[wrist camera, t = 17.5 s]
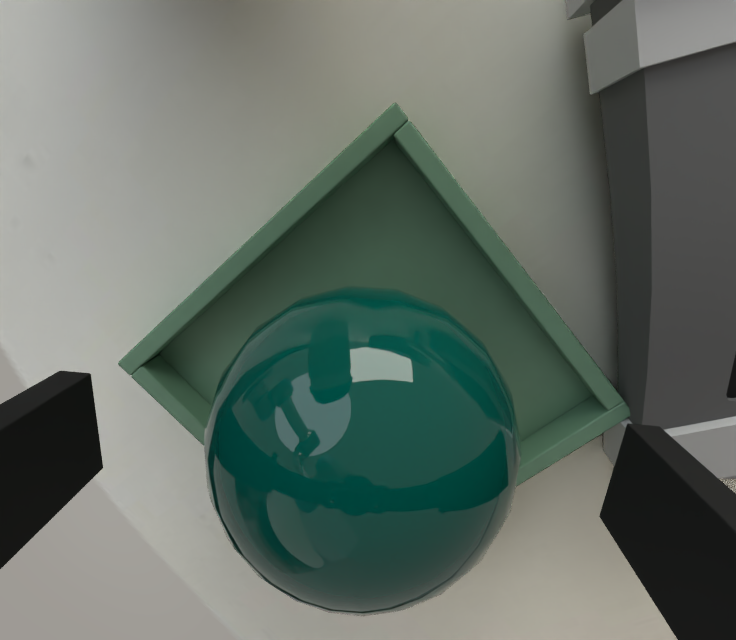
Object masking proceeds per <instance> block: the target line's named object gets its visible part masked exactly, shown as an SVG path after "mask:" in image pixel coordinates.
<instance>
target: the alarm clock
mask: <svg viewBox="0 0 736 640" xmlns="http://www.w3.org/2000/svg"><path fill="white" fill-rule="evenodd" d="M565 3H566V12H567V20H569V19H573V18H576V17H579V16H583V15H586V14H589V13H591V20H592V27H591V28H590V29H589V30H588V31H587V32H586V33H584V34H583V35H584V44H585V53H586V62H587V71H588V80H589V89H590V95H591V94H595V93H599V95H600V104H601V113H602V122H603V132H604V141H605V150H606V160H607V169H608V179H609V188H610V199H611V212H612V226H613V239H614V252H615V265H616V283H617V317H618V393H619V395H620V396H621V397H622V398H623V400H624V401H625V402H626V404H627V405H628V406H629V409H630V417H628V418H627V419H625V420H623V421H622V422H620V423H618V424H617V425H615V426H614V427H612V428H610V429H609V430H607V431H605V432H604V433H603V450H604V452H605V453H606V455H607V457H608V458H609V460H610V461H611V463H612V464H613V466H615V463H616V459H617V456H618V453H619V449H620V446H621V443H622V439H623V436H624V433H625V429H626V426H627V423H630V424H640V425H651V426H660V427H661V428H662V429H663V430H664V431H665V432H667V433H668V434H669V435H670V436H671V437H672V438H673V439H674V440H676V441H677V442H678V443H679V444H680V445H681V446H682V447H683V448H685V449H686V450H687V451H688V452H689V453H690V454H691V455H692V456H693V457H695V458H696V459H697V460H698V461H699V462H700V463H701V464H702V465H704V466H705V467H706V468H707V469H708V470H709V471H710V472H711V473H713V474H714V475H715V476H716V477H717V478H718V479H720V478H724V479H736V0H565Z"/></svg>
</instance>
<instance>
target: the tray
mask: <svg viewBox="0 0 736 640" xmlns="http://www.w3.org/2000/svg"><path fill="white" fill-rule="evenodd" d="M345 286H360V287H375V288H390V289H398V290H401V291H403V292H406V293H408V294H411V295H414V296H416V297H419V298H421V299H424V300H426V301H429V302H431V303H434V304H436V305H439V306H442V307H443V308H444V309H445V310H446V311H448V312H449V313H450V314H451V315H452V316H454V317H455V318H456V319H457V320H458V321H460V322H461V323H462V324H463V325H465V326H466V327H467V328H468V329H469V330H471V331H472V332H473V333H474V334H475V335H477V336H478V337H479V339H480V340H481V341H482V342H483V343H484V345H485V346H486V348H487V350H488V351H489V353H490V355H491V356H492V358H493V360H494V361H495V363H496V365H497V366H498V368H499V369H500V371H501V373H502V374H503V376H504V378H505V379H506V381H507V383H508V385H509V388H510V390H511V393H512V396H513V402H514V407H515V412H516V417H517V423H518V428H519V433H520V439H521V453H522V455H521V460H520V465H519V471H518V476H517V482H516V486H518V485H519V484H521V483H523V482H524V481H526V480H527V479H529V478H531V477H532V476H534V475H536V474H537V473H539V472H540V471H542V470H544V469H545V468H547V467H549V466H550V465H552V464H553V463H555V462H557V461H558V460H560V459H562V458H563V457H565V456H566V455H568V454H570V453H571V452H573V451H575V450H576V449H578V448H579V447H581V446H583V445H584V444H586V443H588V442H589V441H591V440H592V439H594V438H596V437H597V436H599V435H601V434H602V433H604V432H605V431H607V430H609V429H610V428H612V427H614V426H615V425H617V424H618V423H620V422H622V421H623V420H625V419H627V418H628V417H630V409H629V406H628V405H627V404H626V402H625V401H624V400H623V398H622V397H621V396H620V395H619V393H618V392H617V391H616V389H615V388H614V387H613V385H612V384H611V383H610V381H609V380H608V379H607V378H606V376H605V375H604V374H603V372H602V371H601V370H600V368H599V367H598V366H597V364H596V363H595V362H594V361H593V359H592V358H591V357H590V355H589V354H588V353H587V351H586V350H585V349H584V347H583V346H582V345H581V344H580V342H579V341H578V340H577V338H576V337H575V336H574V334H573V333H572V332H571V330H570V329H569V328H568V327H567V325H566V324H565V323H564V321H563V320H562V319H561V317H560V316H559V315H558V313H557V312H556V311H555V310H554V308H553V307H552V306H551V304H550V303H549V302H548V300H547V299H546V298H545V296H544V295H543V294H542V293H541V291H540V290H539V289H538V287H537V286H536V285H535V283H534V282H533V281H532V279H531V278H530V277H529V276H528V274H527V273H526V272H525V270H524V269H523V268H522V266H521V265H520V264H519V262H518V261H517V260H516V259H515V257H514V256H513V255H512V253H511V252H510V251H509V249H508V248H507V247H506V245H505V244H504V243H503V242H502V240H501V239H500V238H499V236H498V235H497V234H496V232H495V231H494V230H493V228H492V227H491V226H490V225H489V223H488V222H487V221H486V219H485V218H484V217H483V215H482V214H481V213H480V211H479V210H478V209H477V208H476V206H475V205H474V204H473V202H472V201H471V200H470V198H469V197H468V196H467V194H466V193H465V192H464V191H463V189H462V188H461V187H460V185H459V184H458V183H457V181H456V180H455V179H454V177H453V176H452V175H451V174H450V172H449V171H448V170H447V168H446V167H445V166H444V164H443V163H442V162H441V160H440V159H439V158H438V157H437V155H436V154H435V153H434V151H433V150H432V149H431V147H430V146H429V145H428V143H427V142H426V141H425V140H424V138H423V137H422V136H421V134H420V133H419V132H418V130H417V129H416V128H415V126H414V125H413V124H412V123H411V122H410V121H408V117H407V116H406V115H405V113H404V112H403V111H402V109H401V108H400V107H399V106H398V104H397V103H393V104H392V105H391V106H390V107H389V108H388V109H387V110H386V111H385V112H384V113H383V114H382V115H380V116H379V117H378V118H377V119H376V120H375V121H374V122H373V123H372V124H371V125H370V126H369V127H368V128H367V129H366V130H365V131H363V132H362V133H361V134H360V135H359V136H358V137H357V138H356V139H355V140H354V141H353V142H352V143H351V144H350V145H349V146H348V147H347V148H345V149H344V150H343V151H342V152H341V153H340V154H339V155H338V156H337V157H336V158H335V159H334V160H333V161H332V162H331V163H330V164H328V165H327V166H326V167H325V168H324V169H323V170H322V171H321V172H320V173H319V174H318V175H317V176H316V177H315V178H314V179H313V180H311V181H310V182H309V183H308V184H307V185H306V186H305V187H304V188H303V189H302V190H301V191H300V192H299V193H298V194H297V195H296V196H294V197H293V198H292V199H291V200H290V201H289V202H288V203H287V204H286V205H285V206H284V207H283V208H282V209H281V210H280V211H279V212H277V213H276V214H275V215H274V216H273V217H272V218H271V219H270V220H269V221H268V222H267V223H266V224H265V225H264V226H263V227H262V228H260V229H259V230H258V231H257V232H256V233H255V234H254V235H253V236H252V237H251V238H250V239H249V240H248V241H247V242H246V243H245V244H243V245H242V246H241V247H240V248H239V249H238V250H237V251H236V252H235V253H234V254H233V255H232V256H231V257H230V258H229V259H228V260H226V261H225V262H224V263H223V264H222V265H221V266H220V267H219V268H218V269H217V270H216V271H215V272H214V273H213V274H212V275H211V276H209V277H208V278H207V279H206V280H205V281H204V282H203V283H202V284H201V285H200V286H199V287H198V288H197V289H196V290H195V291H194V292H193V293H191V294H190V295H189V296H188V297H187V298H186V299H185V300H184V301H183V302H182V303H181V304H180V305H179V306H178V307H177V308H176V309H174V310H173V311H172V312H171V313H170V314H169V315H168V316H167V317H166V318H165V319H164V320H163V321H162V322H161V323H160V324H159V325H157V326H156V327H155V328H154V329H153V330H152V331H151V332H150V333H149V334H148V335H147V336H146V337H145V338H144V339H143V340H142V341H140V342H139V343H138V344H137V345H136V346H135V347H134V348H133V349H132V350H131V351H130V352H129V353H128V354H127V355H126V356H125V357H123V358H122V359H121V360H120V361H119V363H118V364H119V366H120V367H122V368H123V369H124V370H125V371H126V372H127V373H128V374H129V375H132V378H133V379H134V380H135V381H136V382H137V383H138V384H139V385H140V386H142V387H143V388H144V389H145V390H146V391H147V392H148V393H149V394H150V395H151V396H152V397H153V398H154V399H155V400H156V401H157V402H158V403H159V404H161V405H162V406H163V407H164V408H165V409H166V410H167V411H168V412H169V413H170V414H171V415H172V416H173V417H174V418H175V419H176V420H177V421H178V422H179V423H181V424H182V425H183V426H184V427H185V428H186V429H187V430H188V431H189V432H190V433H191V434H192V435H193V436H194V437H195V438H196V439H197V440H198V441H200V442H201V443H202V444H203V445H204V434H205V426H206V423H207V419H208V416H209V413H210V409H211V406H212V403H213V400H214V396H215V393H216V390H217V386H218V383H219V380H220V377H221V374H222V372H223V371H224V369H225V368H226V367H227V365H228V364H229V362H230V361H231V360H232V358H233V357H234V356H235V355H236V353H237V352H238V351H239V349H240V348H241V347H242V345H243V344H244V343H245V342H246V340H247V339H248V338H249V336H250V335H251V334H252V332H253V331H254V330H255V329H256V327H257V326H259V325H260V324H262V323H263V322H265V321H266V320H268V319H269V318H271V317H273V316H274V315H276V314H277V313H279V312H280V311H282V310H284V309H285V308H287V307H288V306H290V305H291V304H293V303H294V302H296V301H298V300H299V299H301V298H302V297H305V296H309V295H313V294H317V293H321V292H325V291H329V290H333V289H337V288H341V287H345Z"/></svg>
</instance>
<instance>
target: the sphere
mask: <svg viewBox="0 0 736 640" xmlns="http://www.w3.org/2000/svg"><path fill="white" fill-rule="evenodd" d="M204 450H205V464H206V479H207V488H208V491H209V495H210V499H211V502H212V504H213V507H214V509H215V511H216V514H217V516H218V518H219V521H220V523H221V525H222V527H223V530H224V532H225V534H226V537H227V538H228V540H229V541H230V543H231V544H232V546H233V547H234V549H235V550H236V551H237V552H238V553H239V555H240V556H241V557H242V558H243V559H244V560H245V561H246V563H247V564H248V565H249V566H250V567H251V568H252V570H253V571H254V572H255V573H256V574H257V575H258V576H259V577H260V578H261V579H263V580H264V581H266V582H267V583H269V584H270V585H272V586H274V587H275V588H277V589H278V590H280V591H281V592H283V593H284V594H286V595H287V596H289V597H290V598H292V599H294V600H295V601H297V602H300V603H303V604H306V605H309V606H311V607H314V608H317V609H320V610H323V611H326V612H329V613H337V614H347V615H357V616H369V615H376V614H383V613H390V612H397V611H401V610H405V609H408V608H410V607H413V606H415V605H417V604H420V603H422V602H425V601H427V600H429V599H432V598H434V597H436V596H439V595H441V594H442V593H443V592H445V591H446V590H447V589H448V588H449V587H451V586H452V585H453V584H454V583H455V582H457V581H458V580H459V579H460V578H461V577H463V576H464V575H465V574H466V573H467V572H469V571H470V570H471V569H472V568H473V567H474V566H476V565H477V564H478V563H479V562H480V561H481V560H482V559H483V557H484V555H485V554H486V552H487V550H488V549H489V547H490V545H491V544H492V542H493V540H494V539H495V537H496V535H497V534H498V532H499V530H500V529H501V527H502V525H503V524H504V522H505V520H506V519H507V517H508V515H509V513H510V511H511V506H512V502H513V498H514V492H515V487H516V482H517V476H518V471H519V465H520V460H521V455H522V453H521V439H520V433H519V428H518V423H517V417H516V412H515V407H514V402H513V396H512V393H511V390H510V388H509V385H508V383H507V381H506V379H505V378H504V376H503V374H502V373H501V371H500V369H499V368H498V366H497V365H496V363H495V361H494V360H493V358H492V356H491V355H490V353H489V351H488V350H487V348H486V346H485V345H484V343H483V342H482V341H481V340H480V339H479V337H478V336H477V335H475V334H474V333H473V332H472V331H471V330H469V329H468V328H467V327H466V326H465V325H463V324H462V323H461V322H460V321H458V320H457V319H456V318H455V317H454V316H452V315H451V314H450V313H449V312H448V311H446V310H445V309H444V308H443V307H442V306H439V305H436V304H434V303H431V302H429V301H426V300H424V299H421V298H419V297H416V296H414V295H411V294H408V293H406V292H403V291H401V290H398V289H390V288H375V287H360V286H345V287H341V288H337V289H333V290H329V291H325V292H321V293H317V294H313V295H309V296H305V297H302V298H301V299H299V300H298V301H296V302H294V303H293V304H291V305H290V306H288V307H287V308H285V309H284V310H282V311H280V312H279V313H277V314H276V315H274V316H273V317H271V318H269V319H268V320H266V321H265V322H263V323H262V324H260V325H259V326H257V327H256V329H255V330H254V331H253V332H252V334H251V335H250V336H249V338H248V339H247V340H246V342H245V343H244V344H243V345H242V347H241V348H240V349H239V351H238V352H237V353H236V355H235V356H234V357H233V358H232V360H231V361H230V362H229V364H228V365H227V367H226V368H225V369H224V371H223V372H222V374H221V377H220V380H219V383H218V386H217V390H216V393H215V396H214V400H213V403H212V406H211V409H210V413H209V416H208V419H207V423H206V426H205V434H204Z"/></svg>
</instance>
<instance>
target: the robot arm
mask: <svg viewBox="0 0 736 640" xmlns="http://www.w3.org/2000/svg"><path fill="white" fill-rule="evenodd" d="M102 468H103V464H102V456H101V449H100V441H99V434H98V426H97V418H96V411H95V403H94V396H93V388H92V381H91V374H89V373H79V372H68V371H59V372H57V373H55V374H54V375H52V376H50V377H48V378H46V379H45V380H43V381H41V382H39V383H38V384H36V385H34V386H32V387H30V388H29V389H27V390H25V391H23V392H22V393H20V394H18V395H16V396H14V397H13V398H11V399H9V400H7V401H6V402H4V403H2V404H0V569H1V568H2V567H3V566H4V565H5V564H6V563H7V562H8V561H9V560H10V559H11V558H12V557H13V556H14V555H15V554H16V553H17V552H18V551H19V550H20V549H21V548H22V547H23V546H24V545H25V544H26V543H27V542H28V541H29V540H30V539H31V538H32V537H33V536H34V535H35V534H36V533H37V532H38V531H39V530H40V529H42V528H43V527H44V526H45V525H46V524H47V523H48V522H49V521H50V520H51V519H52V518H53V517H54V516H55V515H56V514H57V512H59V511H60V510H61V509H62V508H63V507H64V506H65V505H66V504H67V503H68V502H69V501H70V500H71V499H72V498H73V497H74V496H75V495H76V494H77V493H78V492H79V491H80V490H81V489H82V488H83V487H84V486H85V485H86V484H87V483H88V482H89V481H90V480H91V479H92V478H93V477H94V476H95V475H96V474H97V473H98V472H99V471H100V470H101V469H102ZM600 518H601V520H602V521H603V523H604V524H605V526H606V527H607V529H608V531H609V532H610V534H611V535H612V537H613V538H614V540H615V542H616V543H617V545H618V546H619V548H620V549H621V551H622V553H623V554H624V556H625V557H626V559H627V560H628V562H629V564H630V565H631V567H632V568H633V570H634V572H635V573H636V575H637V576H638V578H639V579H640V581H641V583H642V584H643V586H644V587H645V589H646V590H647V592H648V594H649V595H650V597H651V598H652V600H653V601H654V603H655V605H656V606H657V608H658V609H659V611H660V612H661V614H662V616H663V617H664V619H665V620H666V622H667V623H668V625H669V627H670V628H671V630H672V631H673V633H674V634H675V636H676V638H677V639H678V640H736V494H735V493H734V492H733V491H732V490H731V489H729V488H728V487H727V486H726V485H725V484H724V483H723V482H722V481H720V480H719V479H718V478H717V477H716V476H715V475H714V474H713V473H711V472H710V471H709V470H708V469H707V468H706V467H705V466H704V465H702V464H701V463H700V462H699V461H698V460H697V459H696V458H695V457H693V456H692V455H691V454H690V453H689V452H688V451H687V450H686V449H685V448H683V447H682V446H681V445H680V444H679V443H678V442H677V441H676V440H674V439H673V438H672V437H671V436H670V435H669V434H668V433H667V432H665V431H664V430H663V429H662V428H661V427H660V426H651V425H640V424H630V423H627V426H626V429H625V433H624V436H623V439H622V443H621V446H620V449H619V453H618V456H617V459H616V463H615V466H614V469H613V473H612V476H611V479H610V483H609V486H608V489H607V493H606V496H605V499H604V503H603V506H602V509H601V513H600Z"/></svg>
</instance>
